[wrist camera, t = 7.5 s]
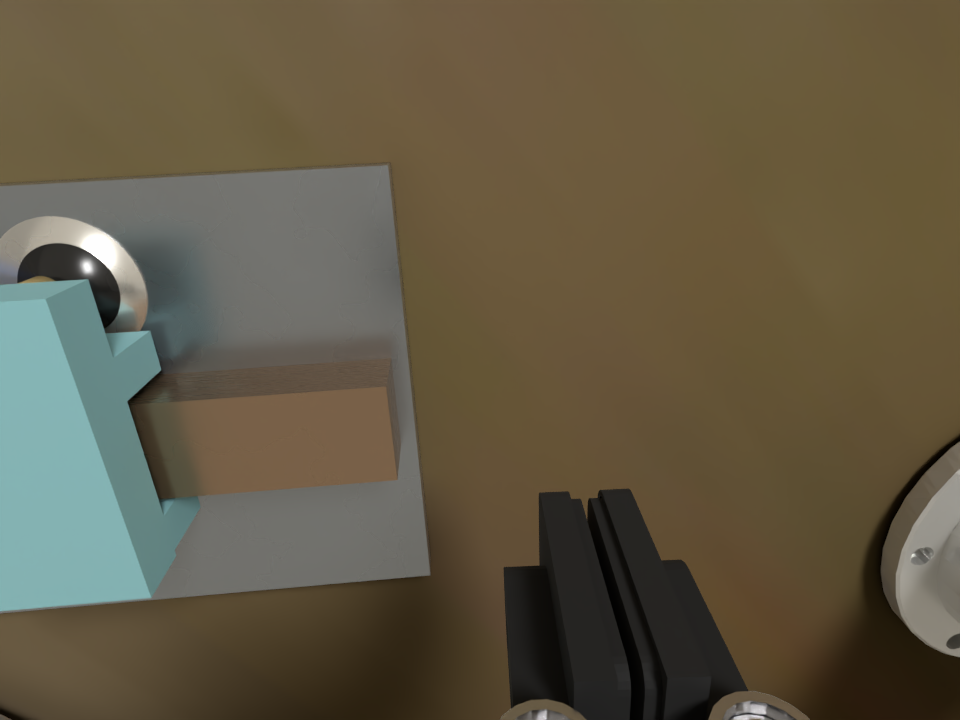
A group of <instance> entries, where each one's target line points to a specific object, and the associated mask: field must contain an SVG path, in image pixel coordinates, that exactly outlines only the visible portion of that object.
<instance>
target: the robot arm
mask: <svg viewBox="0 0 960 720" xmlns="http://www.w3.org/2000/svg"><path fill="white" fill-rule="evenodd" d="M539 555H540V566H523V567H504V590H505V613H506V632H507V650H508V666H509V683H510V699H511V709H510V710H509V711H508V712H506V713H505V714H504V715H503V716H502V717H501V719H500V720H810V719H809V718H808V717H807V716H806V715H804V714H803V713H802V712H800V711H799V710H797V709H796V708H795V707H793V706H792V705H791V704H789V703H787V702H785V701H783V700H781V699H778V698H776V697H774V696H772V695H768V694H764V693H759V692H755V691H748V689H747V687H746V685H745V683H744V681H743V679H742V677H741V675H740V673H739V671H738V669H737V667H736V665H735V663H734V661H733V659H732V657H731V654H730V652H729V650H728V648H727V646H726V644H725V642H724V640H723V638H722V636H721V634H720V632H719V630H718V628H717V626H716V624H715V622H714V620H713V618H712V616H711V614H710V612H709V609H708V607H707V605H706V603H705V601H704V599H703V597H702V595H701V593H700V591H699V589H698V587H697V585H696V583H695V581H694V579H693V577H692V575H691V573H690V571H689V569H688V567H687V565H686V564H685V562H683V561H682V560H663V561H661V559H660V556H659V554H658V552H657V550H656V547H655V545H654V543H653V540H652V538H651V536H650V533H649V531H648V529H647V526H646V524H645V522H644V520H643V517H642V515H641V513H640V510H639V508H638V506H637V503H636V501H635V499H634V497H633V494H632V492H631V490H630V489H613V490H600V491H599V493H598V498H589V500H588V517H587V519H586V515H585V512H584V508H583V505H582V501H581V499H571V498H570V494H569V492H545V493H539ZM881 578H882V585H883V592H884V594H885V596H886V598H887V600H888V602H889V605H890V607H891V609H892V610H893V611H894V612H895V614H896V615H897V616H898V617H899V618H900V619H901V620H902V622H903V623H904V624H905V625H906V626H907V627H908V629H909V630H910V631H911V632H912V633H913V634H914V635H916V636H917V637H918V638H919V639H920V640H922V641H923V642H924V643H925V644H926V645H928V646H930V647H932V648H934V649H936V650H938V651H940V652H942V653H944V654H947V655H952V656H956V657H960V441H959V442H958V443H957V444H955V445H954V446H953V447H951V448H950V449H949V450H948V451H947V452H946V453H945V454H944V455H943V456H942V457H941V458H940V459H938V460H937V461H936V462H935V463H934V464H933V465H932V466H931V467H930V468H929V469H928V470H927V471H926V472H925V473H924V475H923V476H922V477H921V478H920V480H919V481H918V482H917V483H916V485H915V486H914V487H913V489H912V490H911V491H910V492H909V494H908V495H907V496H906V498H905V499H904V501H903V503H902V505H901V507H900V508H899V510H898V512H897V514H896V516H895V517H894V519H893V521H892V523H891V526H890V529H889V532H888V535H887V538H886V541H885V544H884V547H883V553H882V562H881Z"/></svg>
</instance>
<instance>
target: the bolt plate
mask: <svg viewBox="0 0 960 720" xmlns="http://www.w3.org/2000/svg"><path fill="white" fill-rule="evenodd" d="M36 276H45V277H48V278H51V279H53V280H54V281H68V280H84V279H88V280H89V284H90V287H91V290H92V293H93V296H94V299H95V302H96V305H97V309H98V312H99V315H100V318H101V321H102V324H103V327H104V330H105V334H108V333H123V332H138V331H150V332H151V335H152V339H153V342H154V346H155V349H156V353H157V356H158V360H159V363H160V367H161V371H160V372H159V373H157V374H156V375H155V376H154V377H153V378H152V379H151V380H150V381H149V382H148V383H147V384H146V385H144V386H143V387H142V388H141V389H140V390H139V391H138V392H137V393H136V394H135V395H134V396H132V397H131V398H130V399H129V400H128V401H127V402H128V406H129V409H130V412H131V415H132V418H133V421H134V424H135V427H136V431H137V434H138V437H139V440H140V443H141V446H142V449H143V452H144V456H145V459H146V462H147V465H148V468H149V471H150V474H151V478H152V481H153V484H154V487H155V490H156V493H157V496H158V499H169V498H181V497H193V496H198V499H199V503H200V506H201V507H200V509H199V511H198V512H197V514H196V516H195V517H194V519H193V521H192V522H191V524H190V526H189V527H188V529H187V531H186V532H185V534H184V536H183V537H182V539H181V540H180V542H179V544H178V545H177V547H176V549H175V553H176V557H175V559H174V561H173V562H172V564H171V566H170V567H169V569H168V571H167V572H166V574H165V576H164V577H163V579H162V581H161V583H160V584H159V586H158V588H157V589H156V591H155V593H154V594H153V596H152V598H145V599H134V600H122V601H111V602H100V603H88V604H77V605H66V606H54V607H43V608H32V609H20V610H9V611H0V613H9V612H21V611H32V610H43V609H55V608H66V607H77V606H89V605H100V604H111V603H122V602H134V601H145V600H156V599H168V598H179V597H190V596H202V595H213V594H224V593H236V592H247V591H258V590H269V589H281V588H292V587H303V586H315V585H326V584H337V583H349V582H360V581H371V580H382V579H394V578H405V577H416V576H428V575H430V567H431V555H430V545H429V535H428V525H427V515H426V505H425V495H424V486H423V476H422V466H421V456H420V446H419V436H418V426H417V417H416V407H415V397H414V387H413V377H412V367H411V357H410V348H409V338H408V328H407V318H406V308H405V298H404V288H403V279H402V269H401V259H400V249H399V239H398V229H397V219H396V210H395V200H394V190H393V180H392V170H391V163H374V164H356V165H337V166H318V167H300V168H281V169H263V170H244V171H226V172H207V173H189V174H170V175H152V176H133V177H115V178H96V179H78V180H59V181H41V182H22V183H4V184H0V285H4V284H18V283H20V282H23V281H25V280H28V279H30V278H33V277H36Z"/></svg>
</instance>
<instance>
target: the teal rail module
mask: <svg viewBox="0 0 960 720" xmlns="http://www.w3.org/2000/svg"><path fill="white" fill-rule="evenodd" d="M160 371H161V367H160V363H159V360H158V356H157V353H156V349H155V346H154V342H153V339H152V335H151V332H150V331H138V332H123V333H108V334H105V330H104V327H103V324H102V321H101V318H100V315H99V312H98V309H97V305H96V302H95V299H94V296H93V293H92V290H91V287H90V284H89V280H88V279H84V280H68V281H54V280H53V279H51V278H48V277H45V276H36V277H33V278H30V279H28V280H25V281H23V282H20V283H18V284H4V285H0V611H9V610H20V609H32V608H43V607H54V606H66V605H77V604H88V603H100V602H111V601H122V600H134V599H145V598H152V596H153V594H154V593H155V591H156V589H157V588H158V586H159V584H160V583H161V581H162V579H163V577H164V576H165V574H166V572H167V571H168V569H169V567H170V566H171V564H172V562H173V561H174V559H175V557H176V553H175V549H176V547H177V545H178V544H179V542H180V540H181V539H182V537H183V536H184V534H185V532H186V531H187V529H188V527H189V526H190V524H191V522H192V521H193V519H194V517H195V516H196V514H197V512H198V511H199V509H200V507H201V506H200V503H199V499H198V496H193V497H181V498H169V499H158V496H157V493H156V490H155V487H154V484H153V481H152V478H151V474H150V471H149V468H148V465H147V462H146V459H145V456H144V452H143V449H142V446H141V443H140V440H139V437H138V434H137V431H136V427H135V424H134V421H133V418H132V415H131V412H130V409H129V406H128V402H127V401H128V400H129V399H130V398H131V397H132V396H134V395H135V394H136V393H137V392H138V391H139V390H140V389H141V388H142V387H143V386H144V385H146V384H147V383H148V382H149V381H150V380H151V379H152V378H153V377H154V376H155V375H156V374H157V373H159V372H160Z"/></svg>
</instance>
